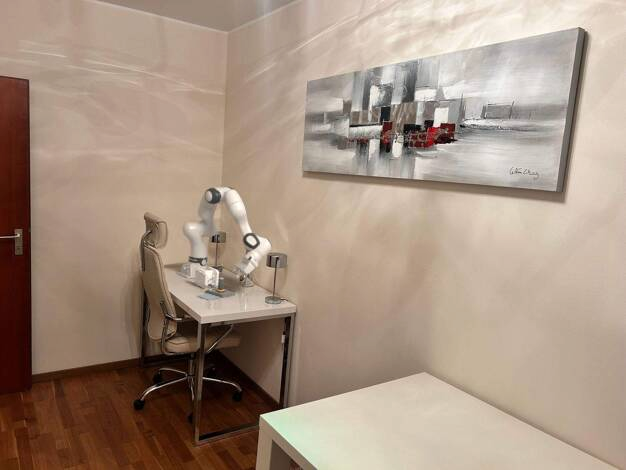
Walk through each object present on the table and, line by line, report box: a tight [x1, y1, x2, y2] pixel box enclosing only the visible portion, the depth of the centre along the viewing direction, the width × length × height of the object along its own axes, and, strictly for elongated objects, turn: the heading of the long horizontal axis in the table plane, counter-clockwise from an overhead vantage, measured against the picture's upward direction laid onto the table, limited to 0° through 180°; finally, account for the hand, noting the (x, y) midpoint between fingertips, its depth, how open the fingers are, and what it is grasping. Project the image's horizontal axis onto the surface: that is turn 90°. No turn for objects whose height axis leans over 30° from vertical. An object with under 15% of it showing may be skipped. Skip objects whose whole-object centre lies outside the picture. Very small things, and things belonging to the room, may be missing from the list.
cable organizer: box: [194, 266, 220, 289], centre depth 314 cm, size 15×11×12 cm
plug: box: [217, 276, 225, 293], centre depth 297 cm, size 5×5×10 cm
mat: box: [196, 293, 221, 301], centre depth 289 cm, size 10×9×1 cm
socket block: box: [206, 287, 236, 299], centre depth 298 cm, size 14×10×3 cm
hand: (234, 275), depth 300 cm, fingers open, 8 cm apart
